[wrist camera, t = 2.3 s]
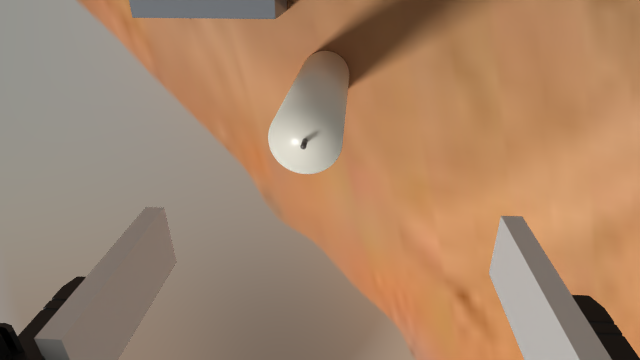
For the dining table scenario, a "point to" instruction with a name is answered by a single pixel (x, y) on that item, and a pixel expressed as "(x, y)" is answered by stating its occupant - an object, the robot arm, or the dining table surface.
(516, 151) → the dining table surface
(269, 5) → the holder
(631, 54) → the dining table surface
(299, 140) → the candle
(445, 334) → the dining table surface
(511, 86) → the dining table surface
